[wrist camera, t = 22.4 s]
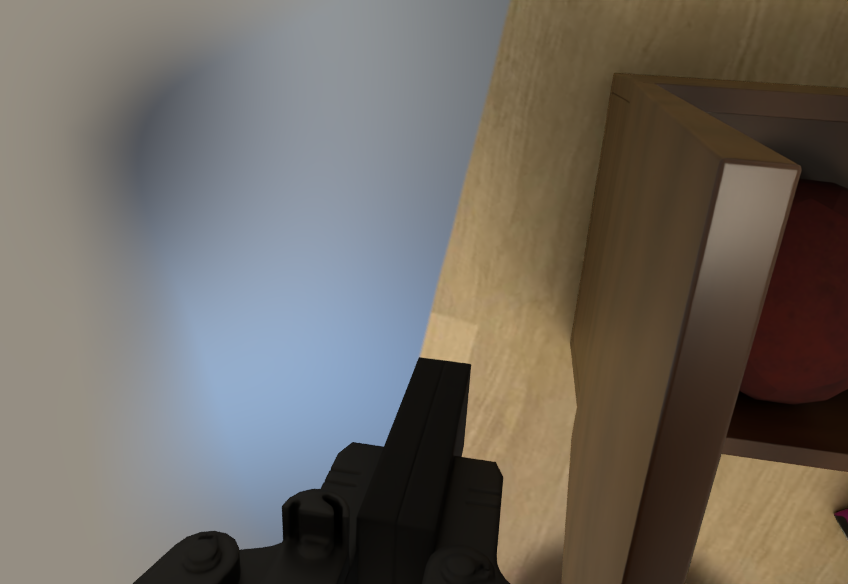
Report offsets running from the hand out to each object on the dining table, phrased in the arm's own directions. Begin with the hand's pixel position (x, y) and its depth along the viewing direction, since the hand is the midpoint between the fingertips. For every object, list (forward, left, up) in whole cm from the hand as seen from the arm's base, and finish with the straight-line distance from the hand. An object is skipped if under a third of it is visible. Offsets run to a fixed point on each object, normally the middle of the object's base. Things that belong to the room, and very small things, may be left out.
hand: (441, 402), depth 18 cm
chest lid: (-5, 0, -2) cm, 6 cm away
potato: (-16, +2, -22) cm, 27 cm away
